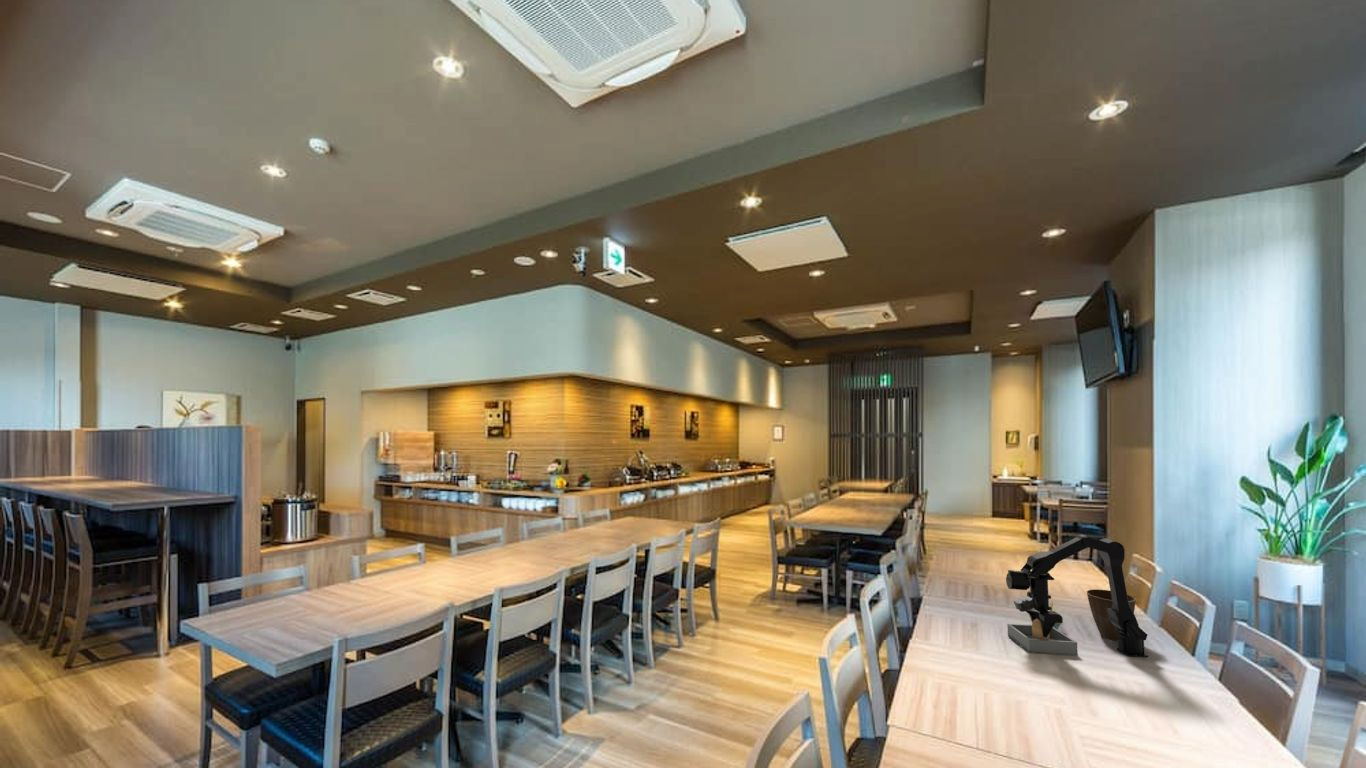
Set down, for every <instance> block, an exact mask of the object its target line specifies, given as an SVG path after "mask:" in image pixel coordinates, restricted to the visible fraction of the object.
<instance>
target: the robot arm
mask: <svg viewBox="0 0 1366 768" xmlns="http://www.w3.org/2000/svg"><path fill="white" fill-rule="evenodd" d="M1087 548H1089V549H1090V548H1091V549H1093V550H1097V551H1098V553H1099V555H1100V557H1101V559H1102V560H1103V563H1104V565H1105V568H1106V572H1107V573H1106V575H1107V578H1108V583H1109V584H1108V585H1109V589H1110V590H1109V591H1111V596H1112V602H1113V605H1112V607H1111V608H1107V612H1108V619H1109V620H1111V623H1112V624H1113V625H1114V626H1116V629H1117V630H1118V631H1120V632H1121V633H1119V638H1118V641H1117V644H1118V645H1117V646H1118V647H1116V649H1117V650H1118V651H1119V652H1121V653H1123V654H1124V655H1126V656H1129V657H1142V658H1148V657H1149V655H1148V654H1146V653H1145V641H1146V640H1147V638H1148V634H1147V633H1146V632H1145V630H1143V629H1142V628H1141V627H1140V626H1139V623H1138V619H1137V617H1136V615H1135V612H1134V613H1133V611H1132V610H1131V608H1130V606H1129V602H1128V596H1127V595H1128V592H1127V586H1126V581H1125V577H1124V576H1125V575H1124V574H1125V573H1124V570H1123V564H1124V561H1125V558H1126V557H1125V556H1126V555H1125V553H1126V552H1125V551H1126V549H1125V546H1124V545H1123V544H1122V543H1120V542H1118V541H1117V540H1116V541H1115V540H1112V539H1110V538H1107V537H1106V538H1101V539H1100V538H1096V537H1091V536H1087V535H1086V534H1078V535H1077V536H1076V537H1074V538H1072V539H1070V540H1069V541H1066V542H1064V543H1062V544H1060V545H1058V546H1056V547H1054V548H1052V549H1051V550H1048V551H1043V552H1039V553H1034V554H1031V555H1029V556H1028V557H1027V559H1026V562H1025V564H1024V565H1023V566H1022V567H1021V569H1020V570H1012V569H1007V573H1006V577H1005V584H1006V586H1007V588H1008V589H1009V590H1019V591H1027V590H1028V591H1027V592H1026V595H1025V596H1021V597H1017V598H1014V599H1013V600H1012V601H1013V603H1014V606H1015V608H1016V610H1018V611H1019V612H1020V613H1022V612H1025V613H1027V614H1028V615H1029V618H1030V620H1031V623H1032V622H1033V620H1035V619H1038V620H1039V621H1040V622H1041V627H1042V633H1043V637H1047V636H1048V635H1049V633H1050V631H1051V629H1052V628H1053V626H1054V625H1055V623H1062V624H1063V623H1064V621H1063V620H1064V619H1063V616H1062V615H1061V614H1059V613H1058V612H1056V611H1053V607H1051V605H1050V604H1049V603H1050V602H1049V601H1050V599H1052V596H1051V595H1050V594H1049V581H1055V578H1054V577H1053V576H1052V575H1051V574H1050V573H1049V572H1051V570H1053V569H1054V568H1055V567H1056V566H1057V564H1058V563H1059V562H1062V561H1063V560H1066V559H1067V558H1071V556H1074V555H1076V554H1077V553H1080V552H1081V551H1083V550H1085V549H1087ZM1050 610H1052V611H1050Z"/></svg>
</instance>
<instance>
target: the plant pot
mask: <svg viewBox="0 0 1366 768" xmlns="http://www.w3.org/2000/svg"><path fill="white" fill-rule="evenodd" d="M1086 595H1087V599H1088V600H1087V601H1088V605H1089V608H1090V612H1091V614H1092V618H1093V621H1094V624H1095V625H1096V628H1097V630H1098V631H1099V632H1098V633H1099V634H1100V636H1101V637H1103V638H1104V639H1107V640H1111V641H1115V642H1118V638H1119V633H1121V632H1120V631H1118V630H1117V629H1116V626H1114V625H1113V624H1112V623H1111V620H1109V619H1108V612H1107V608H1111V607H1112V605H1113V602H1112V596H1111V591H1110V590H1109V589H1098V588H1097V589H1095V588H1094V589H1089V590H1087V591H1086ZM1127 596H1128V602H1129V606H1130V608H1131V610H1132V611H1133V613H1134V614H1135V609H1136V602H1137V601H1136V599H1137V598H1135V597H1134V596H1132V595H1129V594H1127Z"/></svg>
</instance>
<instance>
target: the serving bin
mask: <svg viewBox="0 0 1366 768" xmlns="http://www.w3.org/2000/svg"><path fill="white" fill-rule="evenodd" d="M1006 627H1007V637H1008V638H1010V639H1011V638H1012V639H1011V640H1012V641H1013V642H1015V643H1016V642H1017V644H1018V646H1020V645H1021V646H1022V648H1023V649H1024V650H1025V649H1026V650H1025V651H1027V652H1028V653H1029V654H1043V655H1044V654H1045V655H1057V656H1058V655H1060V656H1061V655H1062V656H1078V655H1079V654H1078V642H1077V641H1076V640H1074V639H1072V638H1071V637H1069V636H1068V635H1067V634H1065V633H1063V632H1062V631H1060V630H1059V629H1058V630H1057V629H1055V628H1054V627H1053V628H1052V629H1051V631H1050V633H1049V635H1050V640H1039V639H1036V638H1034V637H1032V624H1021V623H1019V624H1017V623H1007V626H1006ZM1021 646H1020V647H1021Z"/></svg>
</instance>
